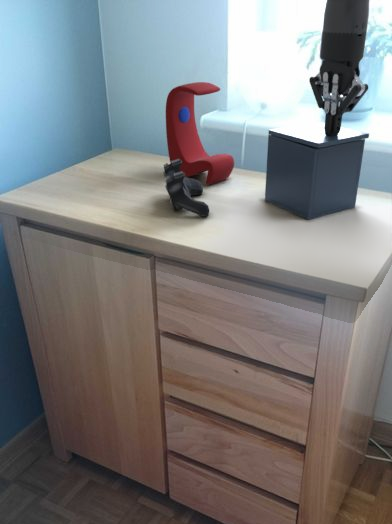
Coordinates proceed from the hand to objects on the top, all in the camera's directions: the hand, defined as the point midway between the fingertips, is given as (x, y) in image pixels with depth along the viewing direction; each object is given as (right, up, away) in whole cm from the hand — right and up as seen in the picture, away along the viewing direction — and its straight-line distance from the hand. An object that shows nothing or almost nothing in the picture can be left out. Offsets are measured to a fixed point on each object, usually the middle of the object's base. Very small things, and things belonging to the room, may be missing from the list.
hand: (331, 135), depth 104 cm
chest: (-2, -10, +11) cm, 15 cm away
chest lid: (-2, +1, +3) cm, 4 cm away
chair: (-24, 0, +27) cm, 36 cm away
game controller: (-28, -10, +11) cm, 32 cm away
